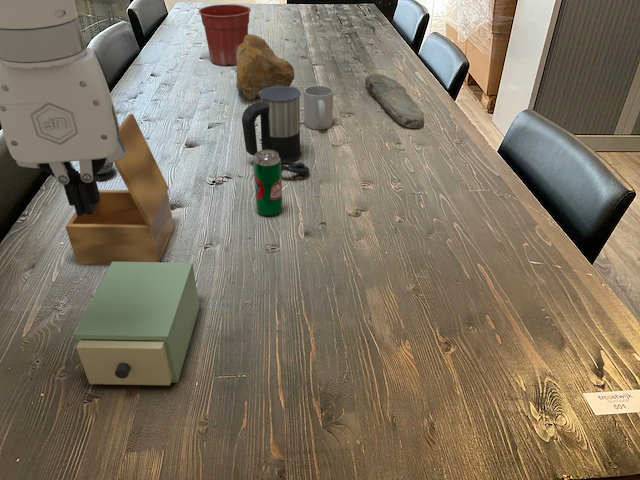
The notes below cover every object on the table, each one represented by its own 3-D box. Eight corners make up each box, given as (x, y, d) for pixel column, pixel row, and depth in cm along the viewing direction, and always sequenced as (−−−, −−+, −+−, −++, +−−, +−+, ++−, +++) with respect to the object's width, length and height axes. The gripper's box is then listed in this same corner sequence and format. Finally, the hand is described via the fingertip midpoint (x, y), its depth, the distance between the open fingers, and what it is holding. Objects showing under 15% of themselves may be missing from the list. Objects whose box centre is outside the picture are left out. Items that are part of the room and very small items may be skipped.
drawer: (167, 393, 68) (158, 356, 64) (85, 391, 68) (71, 354, 64) (191, 312, 80) (185, 277, 76) (122, 311, 80) (112, 276, 76)
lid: (104, 145, 78) (108, 144, 78) (128, 114, 87) (132, 113, 87) (147, 225, 86) (151, 225, 86) (165, 189, 96) (169, 188, 95)
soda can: (276, 219, 103) (273, 163, 96) (252, 214, 104) (247, 158, 97) (286, 206, 106) (285, 151, 99) (263, 201, 108) (260, 146, 101)
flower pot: (206, 53, 187) (200, 4, 178) (253, 52, 188) (250, 3, 179) (202, 69, 174) (196, 16, 164) (254, 67, 175) (251, 15, 166)
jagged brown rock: (292, 110, 148) (296, 54, 140) (231, 105, 147) (231, 49, 139) (293, 83, 168) (296, 33, 159) (239, 79, 166) (239, 28, 158)
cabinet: (177, 382, 71) (167, 336, 66) (89, 381, 71) (72, 334, 66) (199, 306, 83) (192, 262, 78) (124, 305, 83) (112, 261, 78)
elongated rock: (395, 136, 136) (431, 134, 139) (398, 116, 133) (436, 115, 135) (357, 82, 163) (388, 81, 165) (359, 64, 160) (390, 64, 162)
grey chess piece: (83, 180, 114) (68, 127, 107) (97, 168, 119) (83, 116, 112) (109, 183, 113) (96, 130, 106) (122, 170, 118) (110, 118, 111)
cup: (329, 118, 142) (330, 85, 137) (336, 134, 134) (337, 99, 129) (302, 119, 141) (302, 86, 136) (307, 135, 133) (307, 101, 128)
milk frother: (279, 142, 130) (276, 82, 121) (333, 160, 122) (335, 97, 114) (239, 165, 120) (233, 101, 112) (295, 186, 113) (293, 119, 104)
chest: (77, 264, 91) (64, 226, 86) (101, 226, 100) (91, 189, 96) (157, 265, 91) (149, 227, 86) (174, 227, 100) (167, 190, 96)
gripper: (-65, 56, 46) (6, 234, 56) (120, 48, 48) (154, 220, 59) (-35, 32, 51) (24, 197, 62) (127, 26, 54) (157, 186, 65)
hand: (87, 208), depth 60 cm, fingers closed
